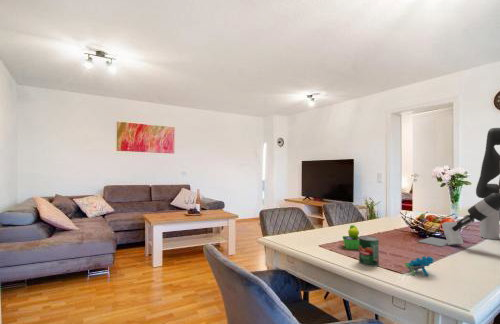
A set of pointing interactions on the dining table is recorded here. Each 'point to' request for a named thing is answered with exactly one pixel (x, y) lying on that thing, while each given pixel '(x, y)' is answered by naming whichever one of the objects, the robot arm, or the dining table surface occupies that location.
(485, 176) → the robot arm
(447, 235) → the skincare box
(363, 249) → the canned tomato
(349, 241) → the fruit basket
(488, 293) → the dining table surface
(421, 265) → the toy dinosaur
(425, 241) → the mat
